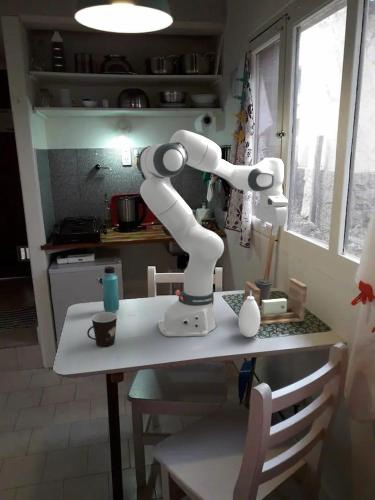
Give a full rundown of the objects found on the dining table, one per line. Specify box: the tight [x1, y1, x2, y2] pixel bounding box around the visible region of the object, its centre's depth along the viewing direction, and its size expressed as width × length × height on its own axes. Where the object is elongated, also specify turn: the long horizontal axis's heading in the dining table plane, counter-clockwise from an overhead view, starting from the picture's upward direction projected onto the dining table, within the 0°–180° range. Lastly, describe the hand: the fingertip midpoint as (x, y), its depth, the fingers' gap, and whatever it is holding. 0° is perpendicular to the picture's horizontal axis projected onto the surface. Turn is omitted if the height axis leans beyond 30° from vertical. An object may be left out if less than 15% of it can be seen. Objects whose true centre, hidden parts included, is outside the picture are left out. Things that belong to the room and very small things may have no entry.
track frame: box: [243, 278, 308, 326], centre depth 154 cm, size 22×10×15 cm, turn 104°
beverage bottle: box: [101, 266, 120, 313], centre depth 158 cm, size 6×7×20 cm
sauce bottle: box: [238, 292, 261, 338], centre depth 139 cm, size 8×8×18 cm
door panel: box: [260, 298, 288, 316], centre depth 154 cm, size 10×3×7 cm, turn 104°
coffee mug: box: [86, 311, 118, 349], centre depth 132 cm, size 12×9×10 cm
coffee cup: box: [254, 278, 273, 304], centre depth 173 cm, size 8×8×10 cm
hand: (268, 232), depth 156 cm, fingers open, 8 cm apart
